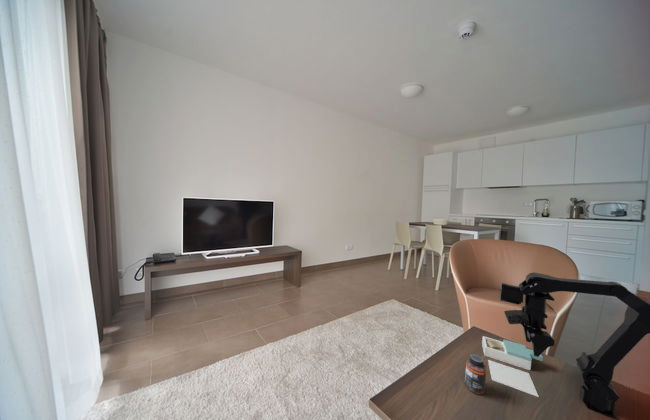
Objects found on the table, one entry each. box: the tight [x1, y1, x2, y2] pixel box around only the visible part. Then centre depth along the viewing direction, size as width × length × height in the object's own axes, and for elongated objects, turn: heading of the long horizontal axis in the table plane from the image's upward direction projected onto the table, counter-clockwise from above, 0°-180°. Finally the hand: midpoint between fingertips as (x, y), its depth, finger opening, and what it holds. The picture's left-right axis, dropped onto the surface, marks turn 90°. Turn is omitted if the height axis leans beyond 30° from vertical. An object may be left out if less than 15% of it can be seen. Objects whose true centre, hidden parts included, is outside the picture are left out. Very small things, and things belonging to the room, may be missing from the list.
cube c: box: [487, 340, 503, 352], centre depth 98 cm, size 4×4×4 cm
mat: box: [487, 359, 539, 398], centre depth 85 cm, size 13×12×1 cm
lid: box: [502, 338, 544, 362], centre depth 93 cm, size 12×9×2 cm
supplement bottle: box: [464, 353, 487, 395], centre depth 79 cm, size 6×6×11 cm
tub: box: [481, 335, 532, 371], centre depth 96 cm, size 15×9×4 cm, turn 60°
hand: (531, 348), depth 84 cm, fingers open, 9 cm apart
